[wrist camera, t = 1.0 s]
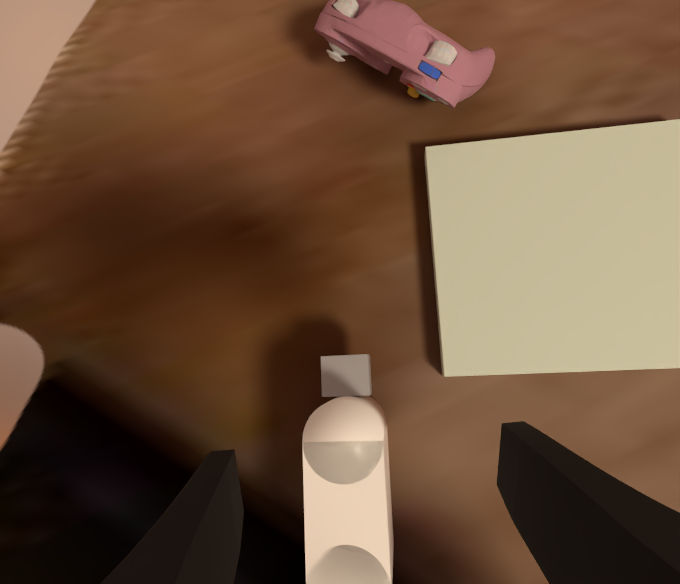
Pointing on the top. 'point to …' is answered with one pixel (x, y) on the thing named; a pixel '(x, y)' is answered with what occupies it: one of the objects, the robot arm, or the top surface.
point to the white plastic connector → (347, 480)
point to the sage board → (557, 251)
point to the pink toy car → (404, 48)
